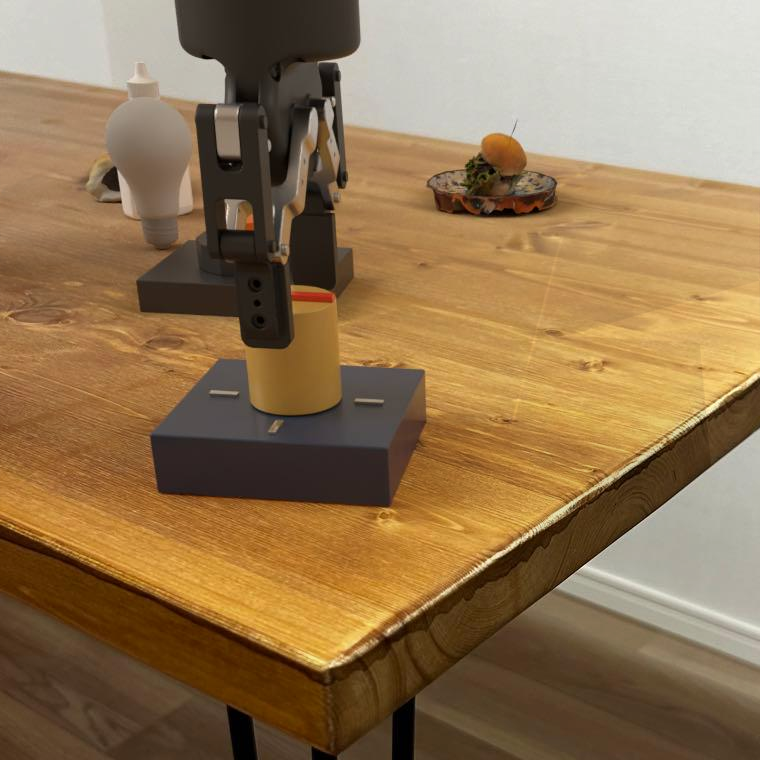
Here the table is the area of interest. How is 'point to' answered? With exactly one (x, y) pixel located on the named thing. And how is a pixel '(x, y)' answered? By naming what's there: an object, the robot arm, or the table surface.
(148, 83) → the plastic bottle
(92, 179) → the pastry
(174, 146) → the lightbulb
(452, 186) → the burger
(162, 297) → the button box
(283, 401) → the dial
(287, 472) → the dial panel
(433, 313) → the table surface
